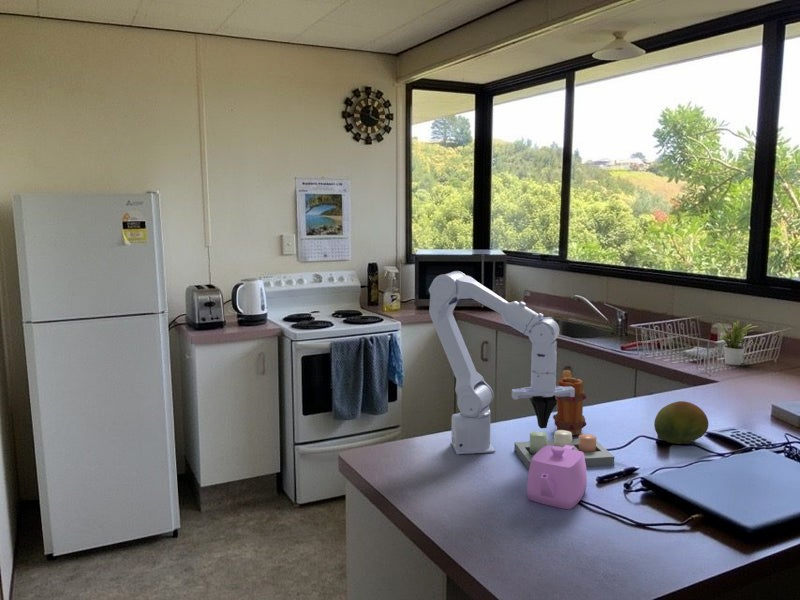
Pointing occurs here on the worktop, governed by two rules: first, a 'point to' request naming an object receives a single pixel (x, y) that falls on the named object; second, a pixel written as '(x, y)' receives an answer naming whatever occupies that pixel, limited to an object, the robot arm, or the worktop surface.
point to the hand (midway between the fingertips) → (542, 426)
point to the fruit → (681, 422)
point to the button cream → (562, 438)
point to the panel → (591, 458)
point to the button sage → (537, 441)
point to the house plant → (735, 344)
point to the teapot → (557, 476)
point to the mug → (570, 405)
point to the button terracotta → (587, 443)
